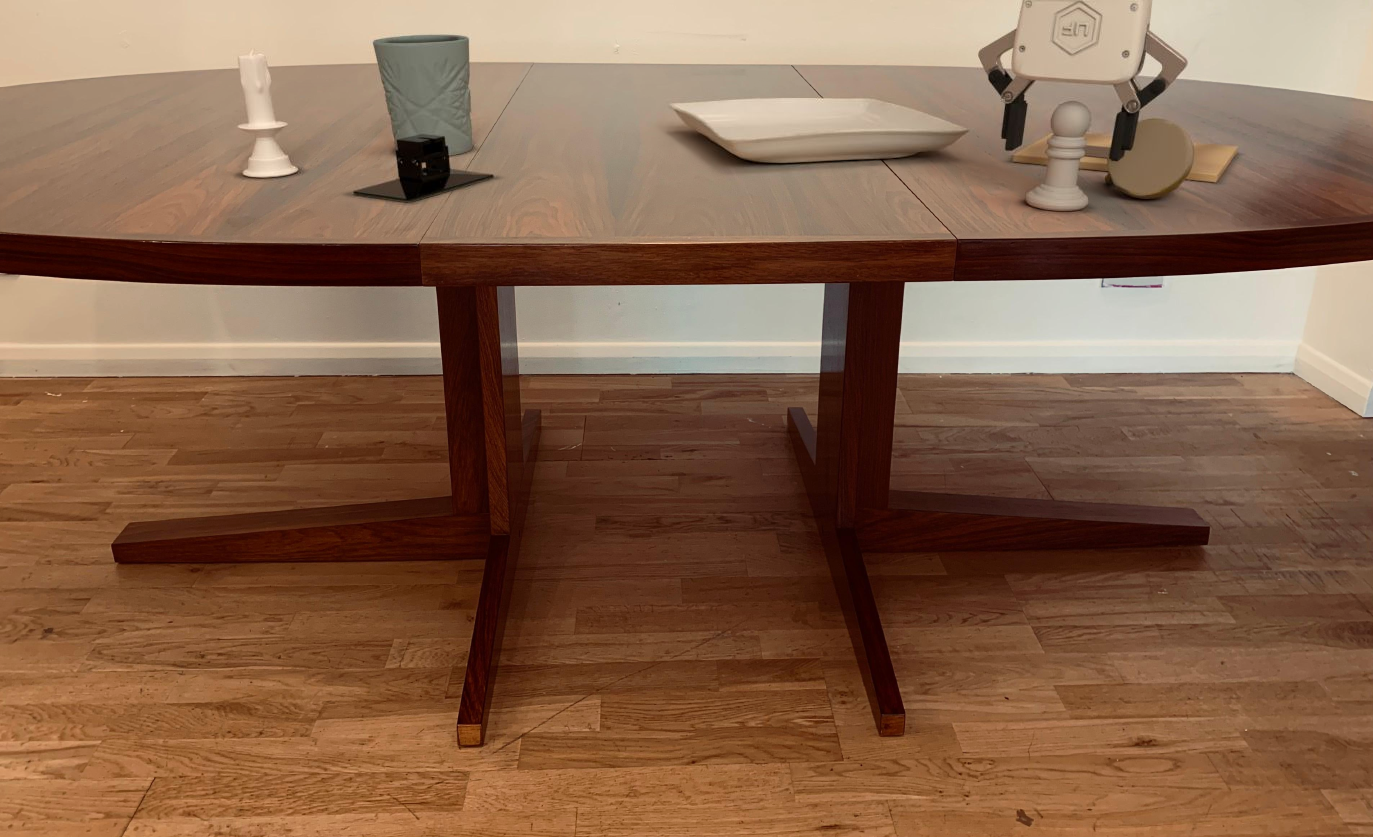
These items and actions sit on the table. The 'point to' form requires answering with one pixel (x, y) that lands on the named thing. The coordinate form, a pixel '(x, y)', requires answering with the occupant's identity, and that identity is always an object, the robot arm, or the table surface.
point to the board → (1206, 156)
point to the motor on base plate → (422, 171)
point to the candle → (261, 120)
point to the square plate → (817, 128)
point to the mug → (1153, 160)
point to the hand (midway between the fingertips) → (1063, 152)
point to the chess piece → (1063, 160)
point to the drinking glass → (427, 87)
